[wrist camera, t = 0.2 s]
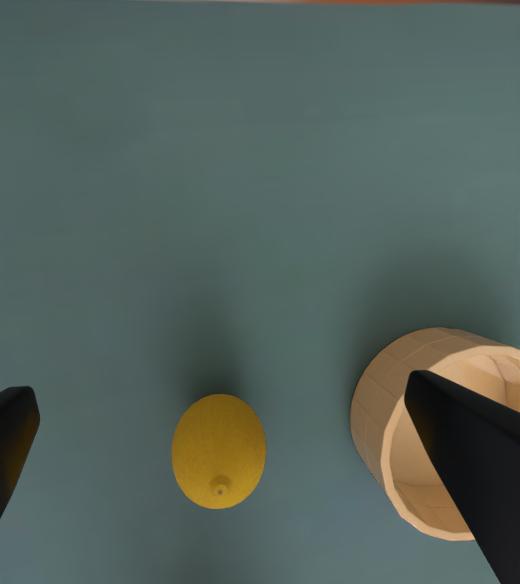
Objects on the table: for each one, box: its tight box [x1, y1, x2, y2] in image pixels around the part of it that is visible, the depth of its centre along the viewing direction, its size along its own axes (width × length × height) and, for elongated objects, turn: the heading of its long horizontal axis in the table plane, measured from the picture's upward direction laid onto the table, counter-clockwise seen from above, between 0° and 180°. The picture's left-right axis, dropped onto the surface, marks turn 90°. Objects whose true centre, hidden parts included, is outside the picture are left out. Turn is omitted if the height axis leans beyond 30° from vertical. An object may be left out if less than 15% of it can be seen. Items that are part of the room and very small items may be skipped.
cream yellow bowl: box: [350, 327, 520, 541], centre depth 24 cm, size 13×13×5 cm
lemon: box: [172, 394, 266, 509], centre depth 21 cm, size 6×6×8 cm
